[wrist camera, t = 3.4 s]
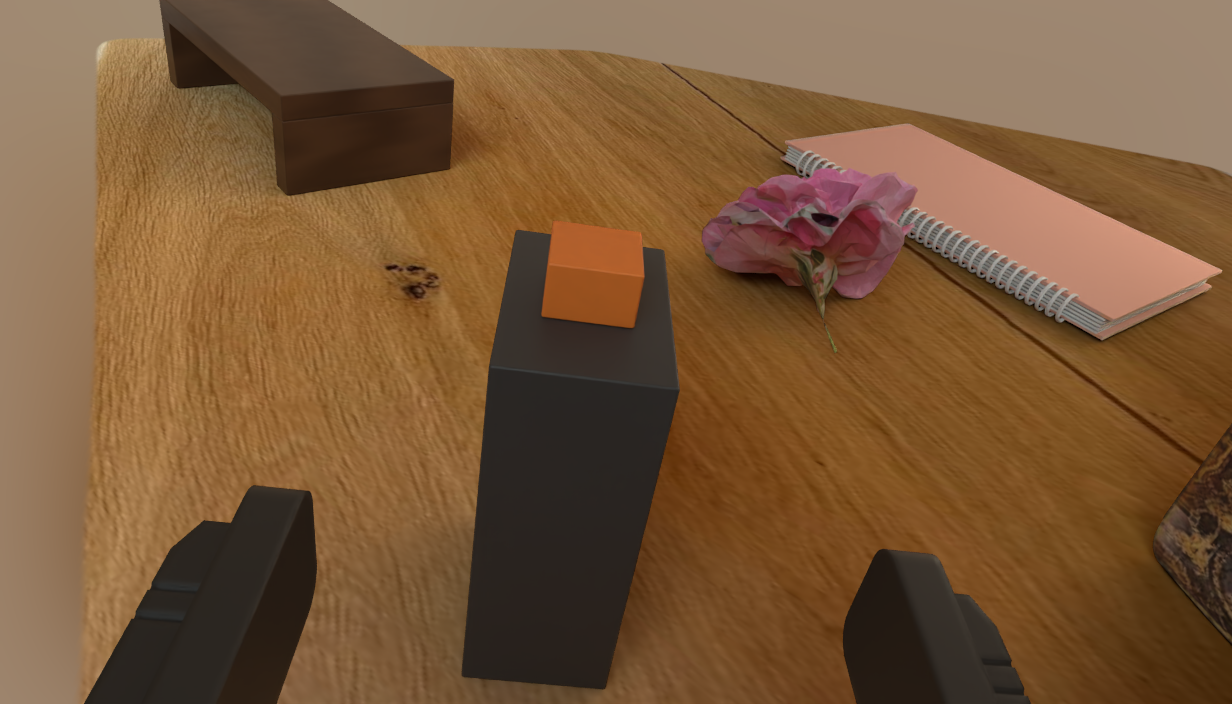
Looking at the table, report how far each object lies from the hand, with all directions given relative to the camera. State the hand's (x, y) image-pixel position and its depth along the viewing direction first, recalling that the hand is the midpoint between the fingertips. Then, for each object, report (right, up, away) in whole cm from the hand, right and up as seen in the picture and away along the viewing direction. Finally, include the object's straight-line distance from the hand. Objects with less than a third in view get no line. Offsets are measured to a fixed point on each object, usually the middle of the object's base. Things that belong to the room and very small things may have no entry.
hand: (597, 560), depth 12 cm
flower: (+10, +6, +38) cm, 40 cm away
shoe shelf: (-21, +19, +47) cm, 55 cm away
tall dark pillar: (-2, -5, +17) cm, 18 cm away
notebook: (+27, +12, +51) cm, 59 cm away
